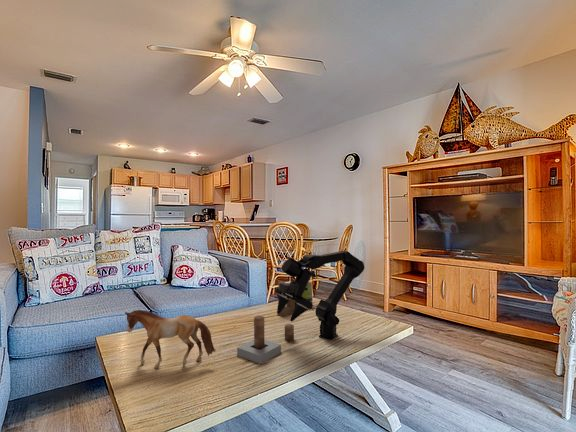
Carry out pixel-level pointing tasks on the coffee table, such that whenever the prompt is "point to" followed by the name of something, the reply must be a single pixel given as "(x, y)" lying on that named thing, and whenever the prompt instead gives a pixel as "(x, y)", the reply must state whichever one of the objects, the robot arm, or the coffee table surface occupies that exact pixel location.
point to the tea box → (305, 292)
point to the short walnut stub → (289, 332)
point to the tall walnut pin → (259, 332)
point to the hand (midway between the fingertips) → (284, 317)
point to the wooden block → (290, 305)
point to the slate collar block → (259, 351)
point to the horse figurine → (171, 332)
